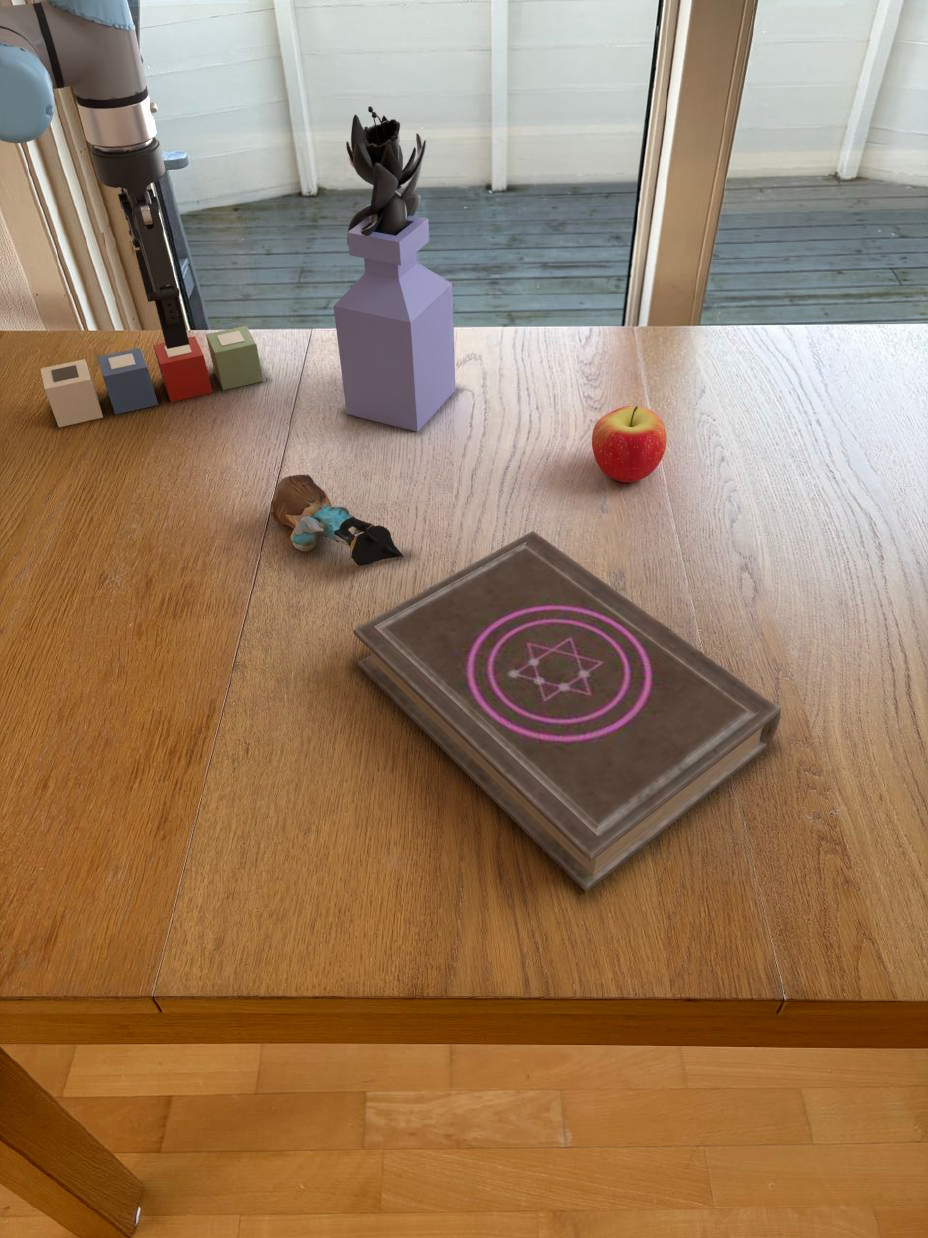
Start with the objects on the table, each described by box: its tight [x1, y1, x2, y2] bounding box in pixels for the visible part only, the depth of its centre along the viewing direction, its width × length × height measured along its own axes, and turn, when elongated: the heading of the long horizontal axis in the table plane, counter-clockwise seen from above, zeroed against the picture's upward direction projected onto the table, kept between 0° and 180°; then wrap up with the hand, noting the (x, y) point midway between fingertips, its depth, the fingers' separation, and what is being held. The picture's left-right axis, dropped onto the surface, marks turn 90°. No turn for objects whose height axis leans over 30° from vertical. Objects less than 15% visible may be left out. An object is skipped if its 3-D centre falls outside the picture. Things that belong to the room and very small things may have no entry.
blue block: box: [96, 347, 159, 415], centre depth 122 cm, size 6×6×6 cm
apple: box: [591, 405, 668, 483], centre depth 107 cm, size 8×8×10 cm
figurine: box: [269, 474, 405, 567], centre depth 100 cm, size 8×16×6 cm, turn 47°
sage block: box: [205, 325, 264, 391], centre depth 126 cm, size 6×6×6 cm
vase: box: [333, 106, 457, 433], centre depth 111 cm, size 14×12×35 cm
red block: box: [152, 335, 213, 403], centre depth 124 cm, size 6×6×6 cm
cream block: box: [40, 359, 104, 428], centre depth 120 cm, size 6×6×6 cm
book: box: [352, 530, 782, 893], centre depth 84 cm, size 30×22×5 cm
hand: (167, 321), depth 119 cm, fingers open, 13 cm apart
